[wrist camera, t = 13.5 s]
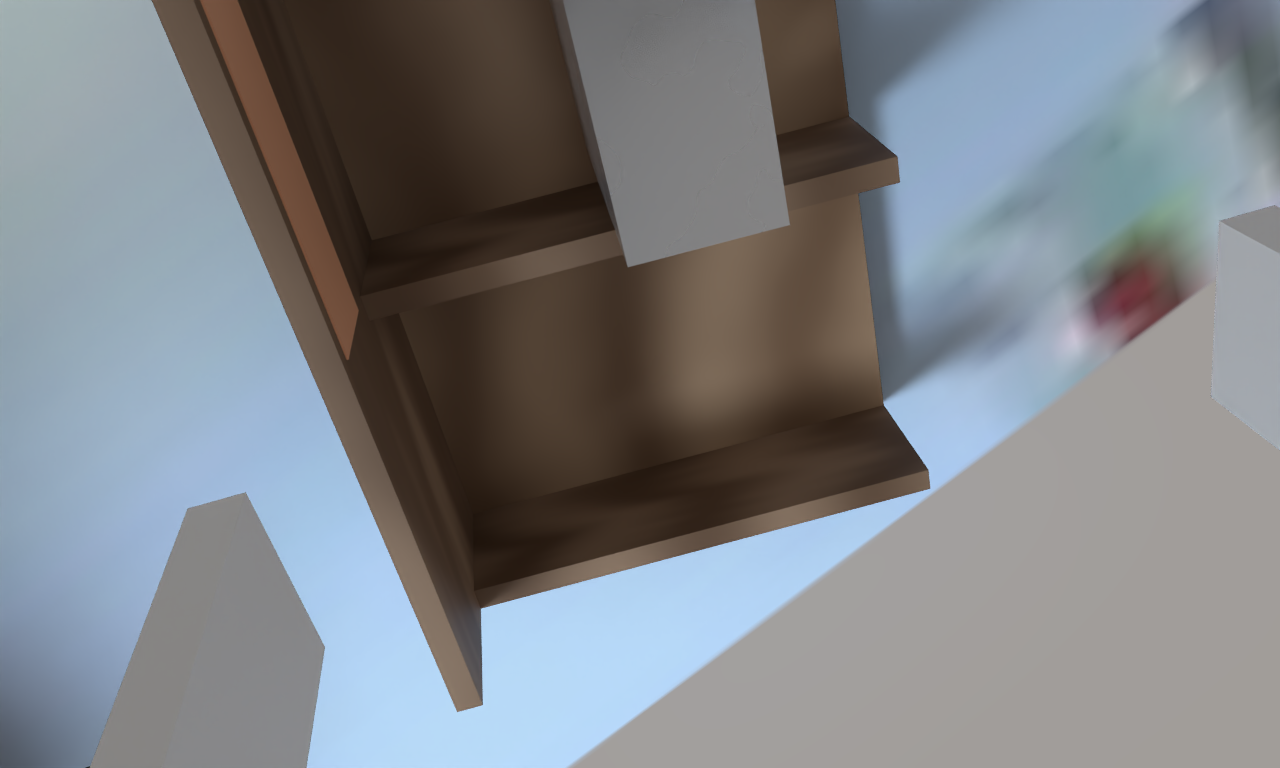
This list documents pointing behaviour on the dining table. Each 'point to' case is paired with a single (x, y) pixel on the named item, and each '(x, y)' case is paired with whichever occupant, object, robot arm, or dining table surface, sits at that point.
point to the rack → (543, 298)
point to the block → (675, 120)
